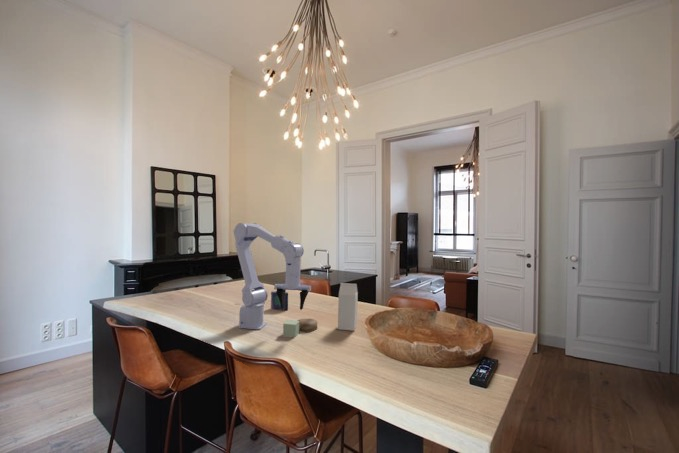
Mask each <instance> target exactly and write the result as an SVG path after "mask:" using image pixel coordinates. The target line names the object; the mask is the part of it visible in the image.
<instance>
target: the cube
mask: <svg viewBox="0 0 679 453" xmlns="http://www.w3.org/2000/svg"><path fill="white" fill-rule="evenodd" d="M282 328H283V329H282V331H283V332H282V336H283V337H285V338H297V336H298V335H299V333H300V331H299V321H297V320H293V319H287V320H286V321H285V322H284V323H283V324H282Z"/></svg>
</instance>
